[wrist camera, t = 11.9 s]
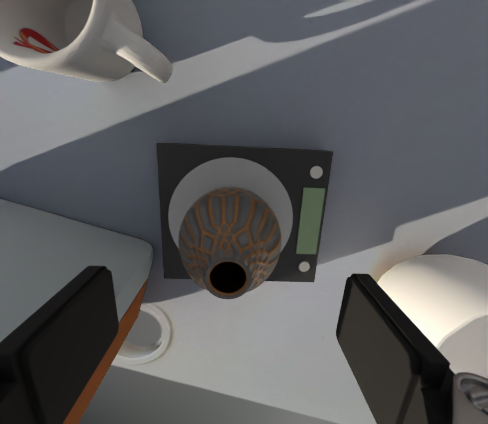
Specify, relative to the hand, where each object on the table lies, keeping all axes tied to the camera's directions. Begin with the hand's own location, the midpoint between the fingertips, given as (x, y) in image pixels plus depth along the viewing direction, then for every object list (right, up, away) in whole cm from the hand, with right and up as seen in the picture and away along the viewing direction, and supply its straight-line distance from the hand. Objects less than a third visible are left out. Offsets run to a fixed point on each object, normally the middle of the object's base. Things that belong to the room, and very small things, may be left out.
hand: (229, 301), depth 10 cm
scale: (0, +4, +13) cm, 14 cm away
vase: (0, +3, +11) cm, 11 cm away
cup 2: (+18, -5, +17) cm, 25 cm away
